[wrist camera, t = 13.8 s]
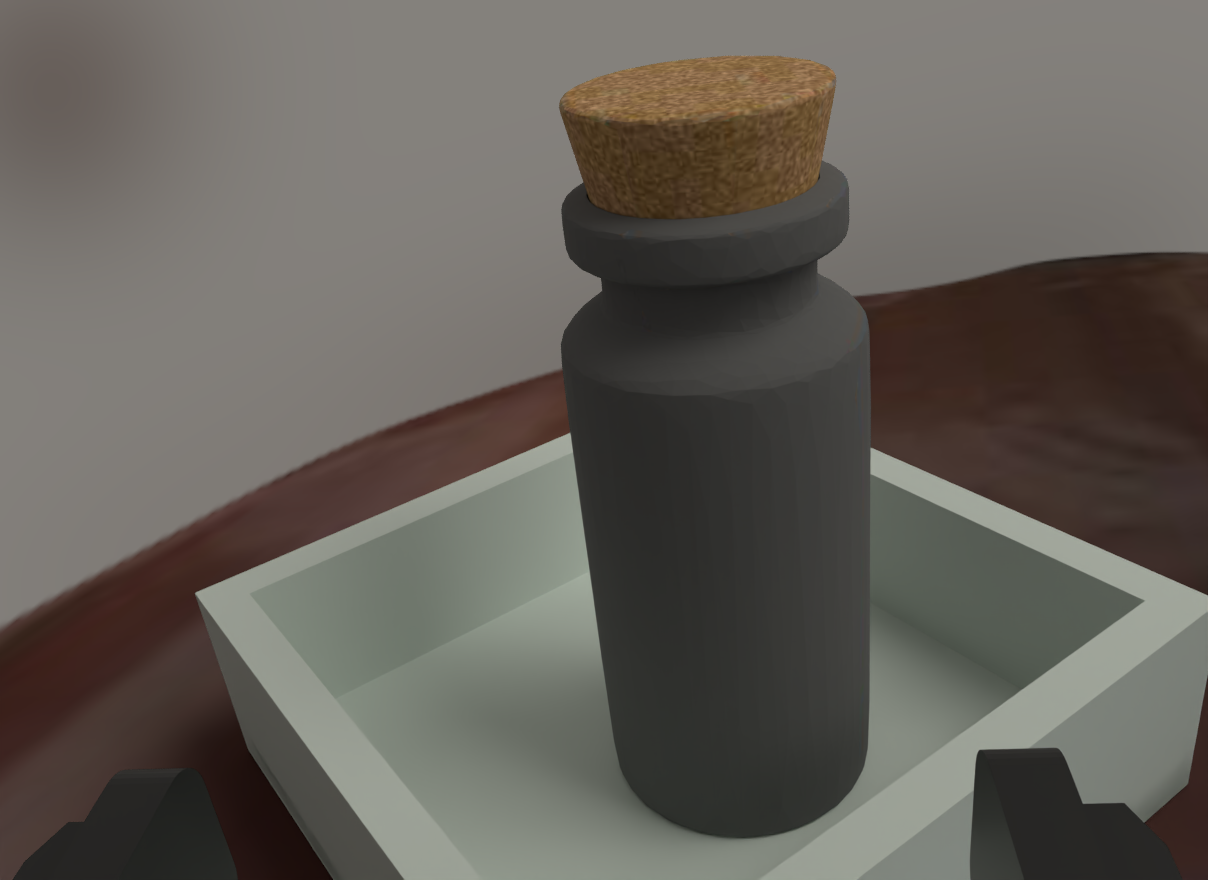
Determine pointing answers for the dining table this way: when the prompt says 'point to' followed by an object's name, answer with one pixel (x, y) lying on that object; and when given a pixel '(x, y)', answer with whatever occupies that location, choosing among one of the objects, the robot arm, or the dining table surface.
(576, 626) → the bin
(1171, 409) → the dining table surface
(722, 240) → the bottle
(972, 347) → the dining table surface
